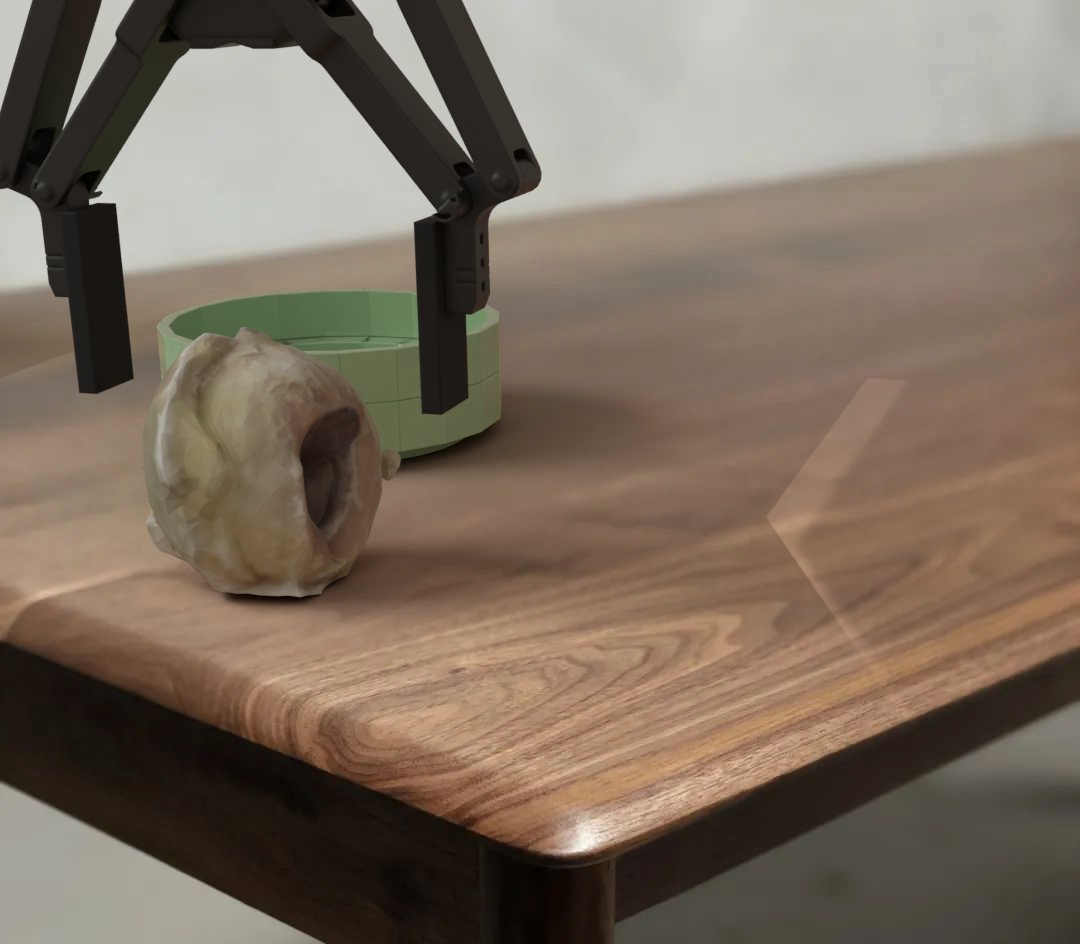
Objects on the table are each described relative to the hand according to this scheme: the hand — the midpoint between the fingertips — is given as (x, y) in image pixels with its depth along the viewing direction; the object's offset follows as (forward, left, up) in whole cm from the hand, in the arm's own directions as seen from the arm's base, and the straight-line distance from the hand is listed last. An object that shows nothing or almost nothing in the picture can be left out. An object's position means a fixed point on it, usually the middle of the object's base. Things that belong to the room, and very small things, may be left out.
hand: (271, 396), depth 67 cm
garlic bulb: (0, 0, -7) cm, 7 cm away
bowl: (-7, +21, -7) cm, 23 cm away
